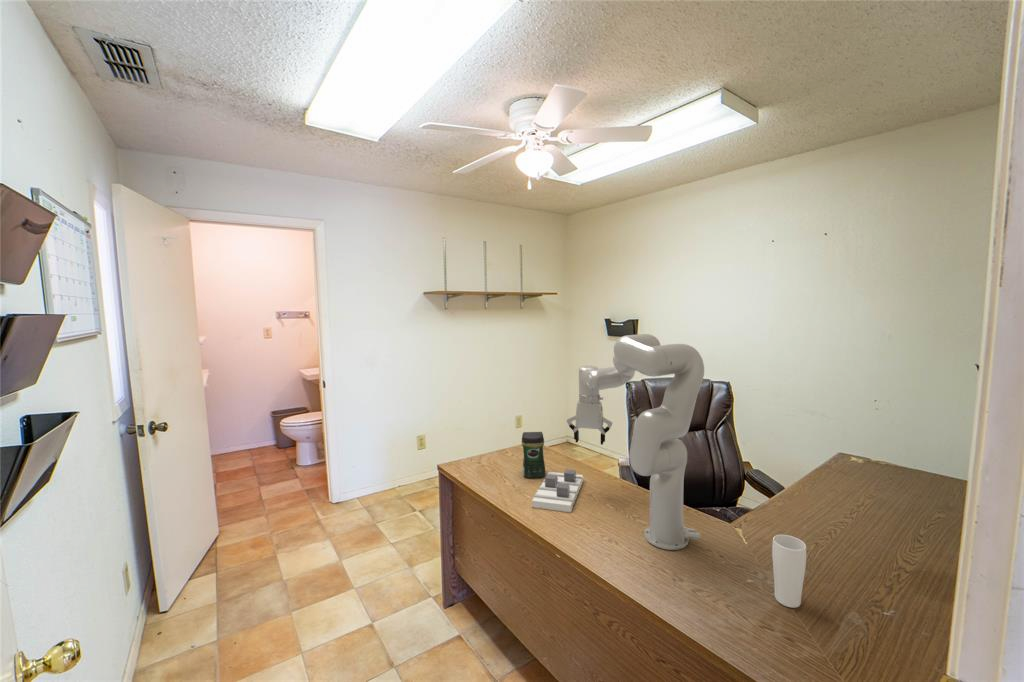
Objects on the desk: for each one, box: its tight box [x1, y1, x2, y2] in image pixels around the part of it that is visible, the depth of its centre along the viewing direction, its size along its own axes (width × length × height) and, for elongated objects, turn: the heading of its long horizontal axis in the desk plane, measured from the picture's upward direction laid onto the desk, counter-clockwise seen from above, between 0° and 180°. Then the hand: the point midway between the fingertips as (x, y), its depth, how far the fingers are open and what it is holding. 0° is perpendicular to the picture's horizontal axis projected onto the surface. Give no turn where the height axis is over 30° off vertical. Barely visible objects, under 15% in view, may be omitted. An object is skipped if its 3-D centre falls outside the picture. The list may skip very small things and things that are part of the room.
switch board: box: [531, 471, 584, 513], centre depth 161 cm, size 14×26×3 cm, turn 161°
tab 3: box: [563, 469, 577, 482], centre depth 166 cm, size 4×4×3 cm
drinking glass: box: [771, 534, 807, 609], centre depth 101 cm, size 7×7×15 cm
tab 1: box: [544, 473, 558, 488], centre depth 162 cm, size 4×4×3 cm
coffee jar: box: [520, 431, 546, 479], centre depth 178 cm, size 10×8×19 cm
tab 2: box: [557, 483, 570, 498], centre depth 154 cm, size 4×4×3 cm
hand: (589, 442), depth 162 cm, fingers open, 9 cm apart
